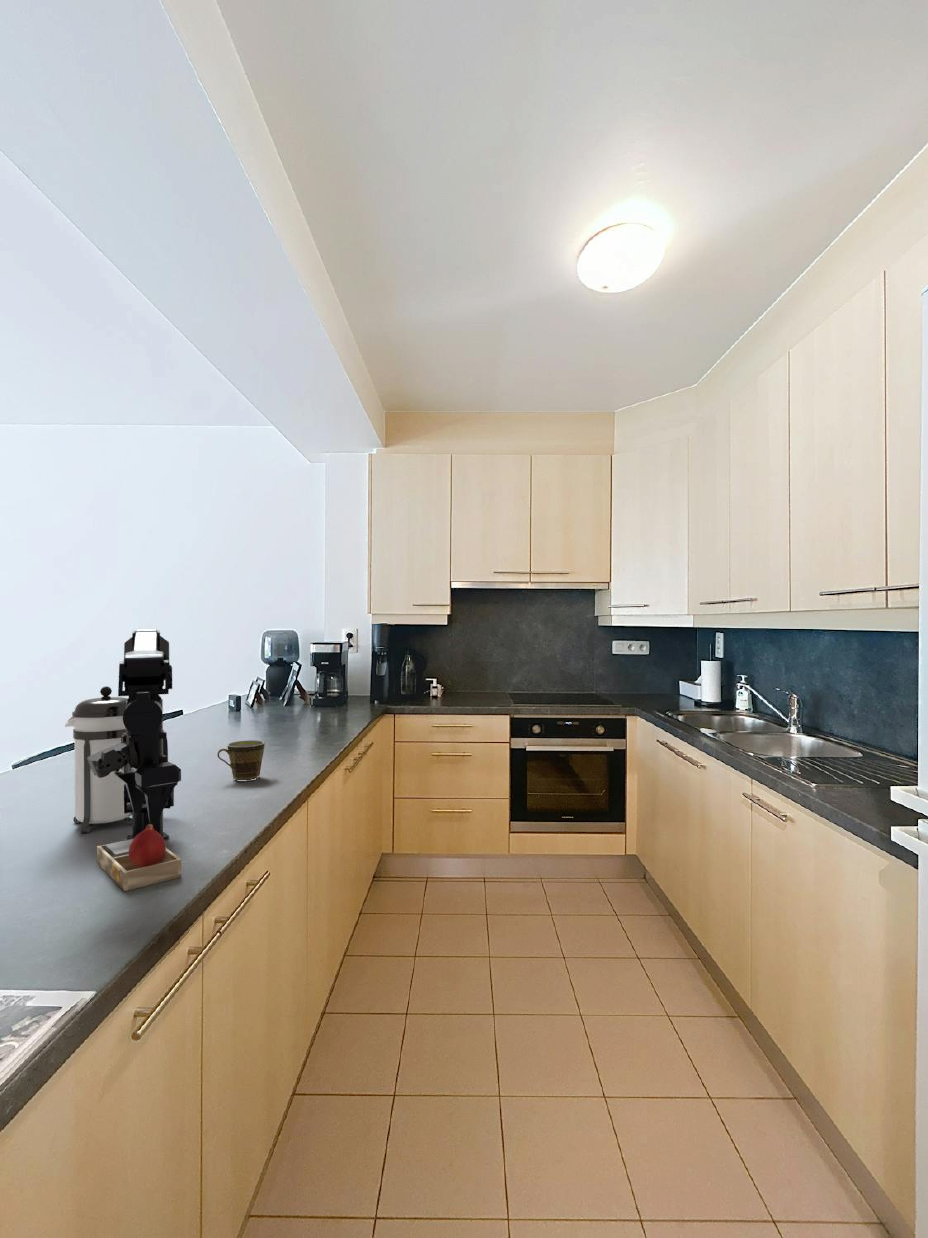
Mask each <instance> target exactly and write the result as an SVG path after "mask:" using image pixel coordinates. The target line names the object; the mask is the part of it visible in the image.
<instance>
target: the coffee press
mask: <svg viewBox="0 0 928 1238" xmlns="http://www.w3.org/2000/svg"><path fill="white" fill-rule="evenodd" d="M112 692H113V690H112V688H111V687H110V686H103V687H101V689H100V691H99V693H100V695H101V697H96V698H90V699H85V700H82V701H81V702H78V704H77V705H76V706H75V708H74V711H72V713H71V716H70V717H69V719H68V720H67V721H66V723H65V724H64V728H66V727H67V728H68V727H73V730H72V739H74V816H73V820H72V821H73V823H75V824H79V823H81V826H80V828H79V832H80V833H81V834H89V833H90V832H91V831H92V829H93V827H94V826H95V825H98V824H107V823H113V822H117V821H120V820H121V821H122V820H125V821H127V822H128V823H129V824H130V825H131V826H132V812H130V813H125V814H124V781H123V780H121V779H120V778H119V777H117V776H116V775H115V774H114V773H115V772H114V771H113V772H111V773H110V774H109V775H107V776H105V777H102V778H98V777H97V776H96V775H94V773H93V771H92V769H91V767H90V764H89V762H88V760H87V758H88V757H89V756H91V755H93V754H95V753H97V752H100V751H102V750H104V749H106V748H109V747H111V746H114V745H116V744H119V743H121V735H123V733H126V727H125V726H124V723H123V714H124V711H125V709H126V701H127V699H128V698H129V697H128V698H126V697H123V696H115V697H114V696H110V695H112ZM163 731H164V729H163ZM164 732H165V731H164ZM168 745H169V743H168V737H167V738H165V739H163V755H165V756H167V762H169V748H168V747H169V746H168ZM128 804H131V803H128Z"/></svg>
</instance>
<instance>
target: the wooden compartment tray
mask: <svg viewBox="0 0 928 1238" xmlns="http://www.w3.org/2000/svg"><path fill="white" fill-rule="evenodd" d="M132 841H133V839H130V840H128V839H126V840H122V841H115V842H111V843H107V844H102V845H97V846H96V863H97V864H98V866H100V868H101V869H102V870H104V872H105V873H106V874H107V875H108V876H109V877H110V878H111V879H112V880H113V881H114V883H116V884H117V886H119V887H120V888H121V889H122V890H123V891H124V892H127V891H131V890H135V889H139V888H143V887H146V886H150V885H155V884H157V883H162V882H167V881H170V880H173V879H174V880H175V879H178V878H181V877H182V858H181V857H179V856H178V855H176V854H175V853H174V852H172V851H171V850H170V849H169V848H167V847H166V850H165V854H164V856H163V858H162V859H161V861H160V862H159V863H158V864H155V865H151V866H147V867H143V868H138V867H137V866H135V865H134V864H133V863H132V862H131V860H130V858H129V847H130V844H131V842H132Z"/></svg>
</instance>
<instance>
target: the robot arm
mask: <svg viewBox="0 0 928 1238" xmlns="http://www.w3.org/2000/svg"><path fill="white" fill-rule="evenodd" d="M131 636H132V637H130V638H129V639H128V640H126V641H125V642H124V645H123V646H124V647H123V661H119V664H118V665H119V666H118V687H117V697H128V699H127V701H126V709H125V711H124V714H123V723H124V726H125V727H126V733H123V735H121V743H119V744H116V745H114V746H111V747H109V748H106V749H104V750H102V751H100V752H97V753H95V754H93V755H91V756H89V757H88V758H87V760H88V762H89V764H90V767H91V769H92V771H93V773H94V775H96V776H97V777H98V778H102V777H105V776H107V775H109V774H110V773H111V772H113V771H114V772H115V773H114V774H115V775H116V776H117V777H119V778H120V779H121V780H123V781H124V814H125V813H130V812H132V815H131V818H132V825H131V828H132V829H131V832H132V833H131V834H128V835H126V840H130V839H134V838H135V837H136V836H137V835H138V834H139V833H140V832H142V831H143V830H145V828H146V826H147V825H148V824H151V825H153V828H154V830H155V831H157V832H158V833H160V834H161V835H162V837H163V838H164V840H167V839H168V840H169V839H170V834H167V833H166V832H165V831H164V809H165V810H166V809H171V808H172V807H174V806H175V788H176V786H178V784H179V782H181V781H182V769H181V768H180V767H178V766H177V764H174V763H173V762H171V761H168V762H167V756H165V755H163V739H165V738H167V739H168V737H167V732H166V731H163V730H164V719H163V718H164V715H163V714H164V708H163V706H164V705H163V702H164V700H163V698H162V696H160V695H169V694H170V693H169V692H170V691H169V690H172V689H173V666H172V665H171V664H170V642H169V641H168V640H167V639H165V638H164V637H163V636H161V630H158V629H156V628H153V629H149V628H148V629H146V628H145V629H144V628H143V629H140V628H139V629H135V630H132V635H131ZM123 688H124V689H123ZM128 803H131V804H128Z"/></svg>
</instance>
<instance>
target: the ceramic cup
mask: <svg viewBox="0 0 928 1238" xmlns="http://www.w3.org/2000/svg"><path fill="white" fill-rule="evenodd" d="M265 744H266V743H265V741H263V740H255V739H254V740H253V739H251V740H250V739H249V740H239V741H233V742H230V743H228V744H226V746H227V747H226V748H227V749H226V748H221V749H219V750H218V752H217V754H216V755H217V758H218V759H219V760H220V761H221V762H223V763H225V764H226V765H228V766H229V768H231V773H232V779H233V780H234V779H235V780H251V779H255V778H257V777H258V776H259V777H260V774H261V769H262V763H263V757H264V752H265ZM223 751H224V752H226V753H227V754H228V757H229V762H230V763H229V762H227V761H226V760H225V759H223V758H222V757H220V753H221V752H223Z"/></svg>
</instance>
